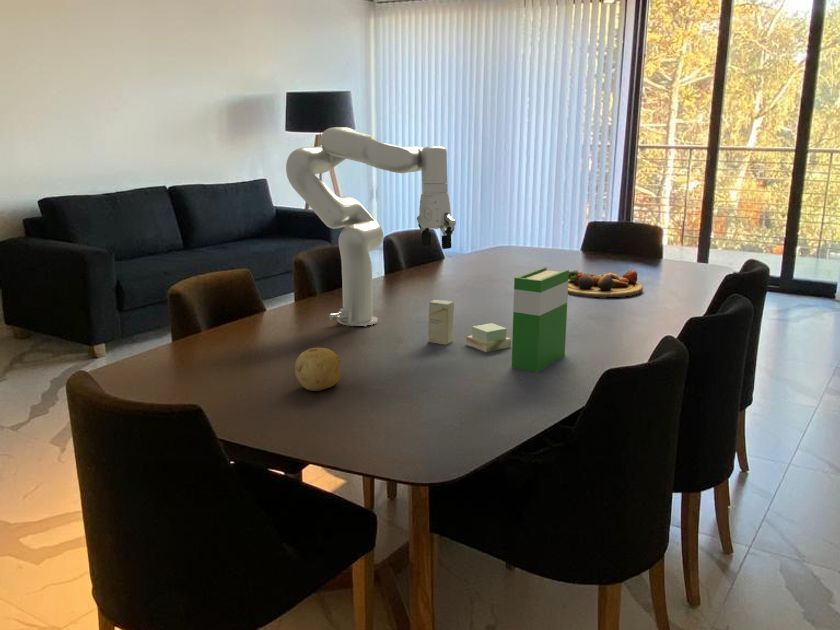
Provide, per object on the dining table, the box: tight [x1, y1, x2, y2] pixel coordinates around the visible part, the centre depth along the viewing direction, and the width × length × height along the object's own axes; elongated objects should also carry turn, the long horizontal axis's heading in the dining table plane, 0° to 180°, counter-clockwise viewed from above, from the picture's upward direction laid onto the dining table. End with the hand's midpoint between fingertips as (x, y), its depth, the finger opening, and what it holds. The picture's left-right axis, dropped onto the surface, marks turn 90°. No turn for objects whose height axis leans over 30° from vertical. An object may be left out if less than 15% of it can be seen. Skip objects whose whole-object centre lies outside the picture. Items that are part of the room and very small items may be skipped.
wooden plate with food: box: [568, 269, 644, 298], centre depth 297 cm, size 32×32×8 cm
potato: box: [294, 347, 342, 392], centre depth 187 cm, size 10×12×10 cm
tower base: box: [466, 335, 512, 353], centre depth 223 cm, size 9×9×3 cm
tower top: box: [471, 322, 508, 342], centre depth 223 cm, size 7×7×3 cm
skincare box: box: [427, 298, 455, 345], centre depth 226 cm, size 6×4×12 cm
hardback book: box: [511, 266, 570, 373], centre depth 207 cm, size 18×7×24 cm, turn 147°
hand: (436, 246), depth 233 cm, fingers open, 9 cm apart
